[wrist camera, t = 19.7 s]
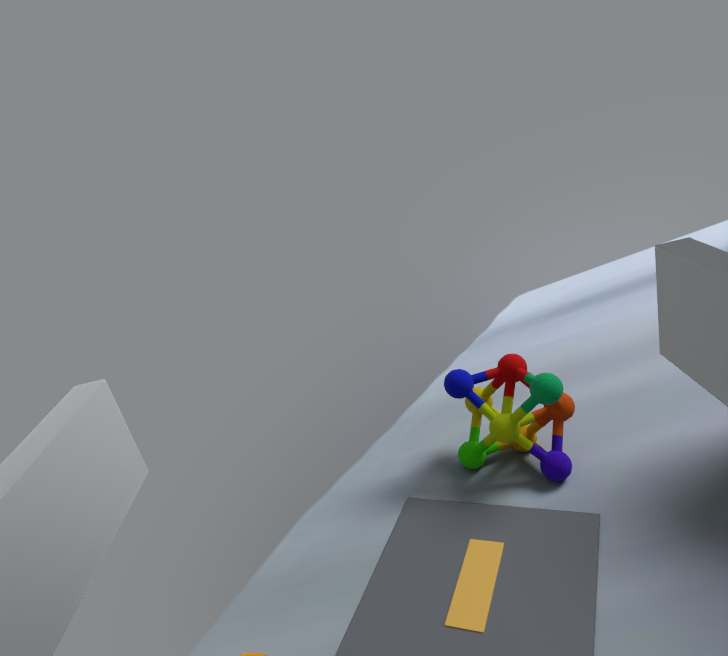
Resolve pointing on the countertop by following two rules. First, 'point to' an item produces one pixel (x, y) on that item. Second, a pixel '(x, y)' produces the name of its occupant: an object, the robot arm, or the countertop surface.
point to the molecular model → (514, 414)
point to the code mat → (481, 584)
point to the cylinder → (252, 654)
